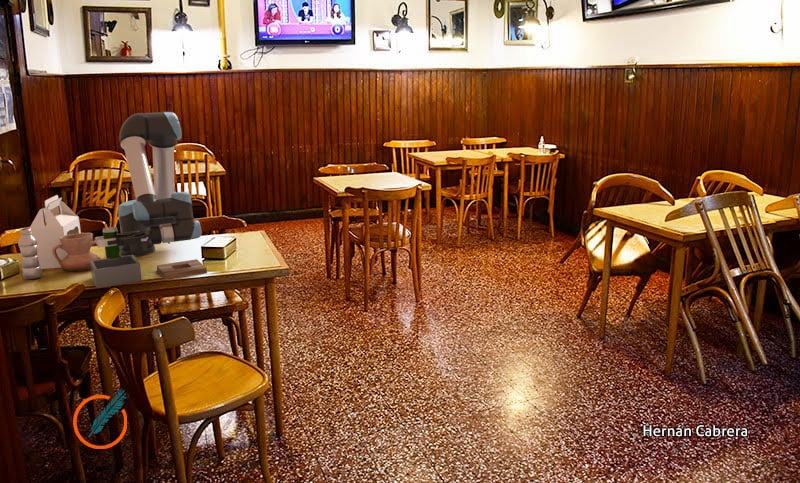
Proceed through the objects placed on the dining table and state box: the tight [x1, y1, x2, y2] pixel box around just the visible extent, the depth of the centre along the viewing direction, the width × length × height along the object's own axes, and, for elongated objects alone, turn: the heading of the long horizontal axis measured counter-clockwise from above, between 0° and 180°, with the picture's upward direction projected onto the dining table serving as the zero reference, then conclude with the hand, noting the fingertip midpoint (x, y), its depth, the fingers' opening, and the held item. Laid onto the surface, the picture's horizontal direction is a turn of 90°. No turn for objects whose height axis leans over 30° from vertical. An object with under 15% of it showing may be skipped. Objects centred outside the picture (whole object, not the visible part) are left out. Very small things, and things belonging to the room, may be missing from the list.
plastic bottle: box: [17, 227, 43, 280], centre depth 258 cm, size 6×7×20 cm
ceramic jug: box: [52, 232, 102, 272], centre depth 272 cm, size 18×14×14 cm
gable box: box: [29, 194, 82, 270], centre depth 282 cm, size 22×13×28 cm, turn 10°
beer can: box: [102, 226, 121, 260], centre depth 253 cm, size 5×5×12 cm
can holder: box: [156, 258, 208, 280], centre depth 265 cm, size 16×16×2 cm
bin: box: [90, 255, 143, 289], centre depth 256 cm, size 16×16×7 cm
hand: (96, 242), depth 250 cm, fingers closed on beer can, 5 cm apart
